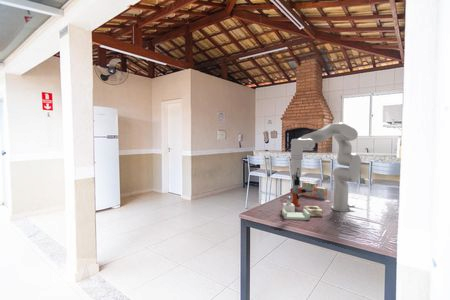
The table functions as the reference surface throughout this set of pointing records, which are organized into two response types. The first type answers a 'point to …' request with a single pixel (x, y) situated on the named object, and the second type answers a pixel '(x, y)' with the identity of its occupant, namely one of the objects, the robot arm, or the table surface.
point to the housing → (289, 207)
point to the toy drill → (296, 197)
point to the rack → (296, 215)
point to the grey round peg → (295, 187)
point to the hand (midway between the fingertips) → (295, 184)
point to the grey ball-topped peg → (288, 200)
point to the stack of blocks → (314, 190)
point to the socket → (314, 210)
